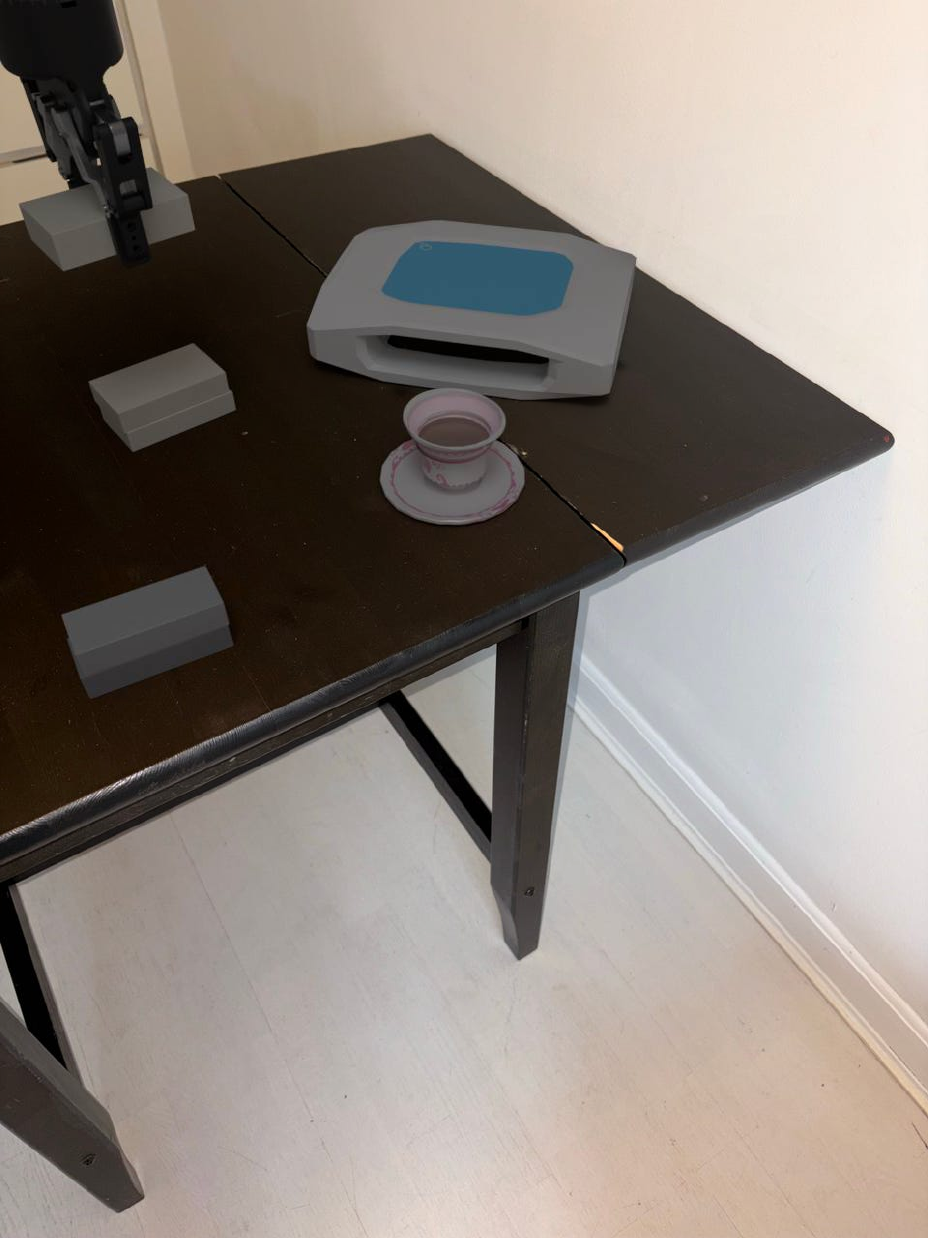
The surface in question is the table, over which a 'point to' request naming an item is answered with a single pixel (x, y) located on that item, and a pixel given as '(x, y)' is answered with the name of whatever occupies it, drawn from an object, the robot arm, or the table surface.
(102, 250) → the light grey rectangular block
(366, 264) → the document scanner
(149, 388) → the grey block
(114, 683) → the gray block
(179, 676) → the table surface
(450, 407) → the teacup
